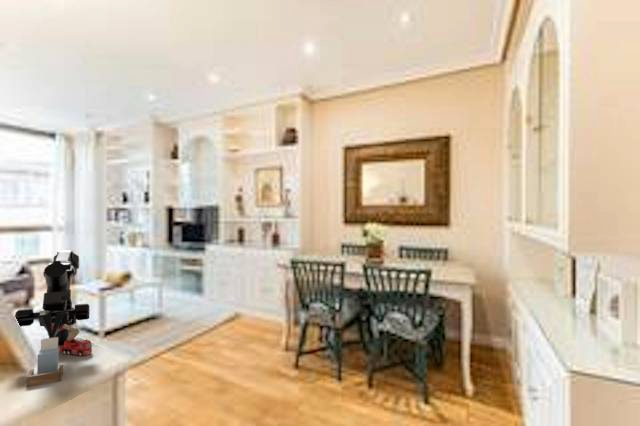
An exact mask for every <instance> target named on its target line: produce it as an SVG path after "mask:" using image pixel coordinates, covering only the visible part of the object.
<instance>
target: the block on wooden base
mask: <svg viewBox="0 0 640 426" xmlns="http://www.w3.org/2000/svg"><path fill="white" fill-rule="evenodd" d="M40 339H41V340H40V350H39V351H38V353H37V368H36V369H37V373H36V374H42V373H48V372H55V371H58V370H59V367H60V364H59V363H60V362H59V359H60V356H59V355H60V354H59V353H60V347H59V345H58V337H54V338H49V337H48V338H47V337H46V338H40Z"/></svg>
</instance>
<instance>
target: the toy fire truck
mask: <svg viewBox="0 0 640 426" xmlns="http://www.w3.org/2000/svg"><path fill="white" fill-rule="evenodd" d="M53 327H54V325H52V331H53ZM64 329H68V330H70V334H69V336H68V338H67V340H66V341H64V345H59V353H61V354H63V355H66V354H67V356H70V355H75V356H78V357H84V356H87V355H90V354H92V350H93V349H92V347H93V345H92V342H91V340H90V339H86V338H85V340H81V341H78V339H76V337H77V335H79V333H80V332H81V331H80V330H79V328H77V327H74V326H72V325H70V326H69V325H67V324H64V325H63V326H62V328H61V329H60V330H59V331H61V330H64Z"/></svg>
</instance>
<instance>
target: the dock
mask: <svg viewBox="0 0 640 426" xmlns="http://www.w3.org/2000/svg"><path fill="white" fill-rule="evenodd" d="M34 373H35V369H34V368H32V369H31V368H30V369H29V371H28V374H27V375H26V381H25V383H26V384H25V387H26V388H27V387H32V386H33V387H34V386H39V385H43V384H49V383H56V382H61V381H62V378H63V375H64V364H59V366H58V369H57V371H55V372H48V373H42V374H37V373H36V374H34Z"/></svg>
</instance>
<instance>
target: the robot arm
mask: <svg viewBox="0 0 640 426" xmlns="http://www.w3.org/2000/svg"><path fill="white" fill-rule="evenodd" d="M52 260H53V261H51V262H49V263H48V265H47V266H46V267H45V268H44V270H43V277H44V278H45V284H46V292H44V293H43V301H42V310H39V312H34V308H24V309H23V308H22V309H18V310H17V311H16V312H15V314H14V318H15V317H16V319H17V321H18V323H19V325H20V327H28V326H31V325H33V324H34V322H35V320H38V322H39V326H40V327H43V328H44V329H45V330H46V333H47V336H48V338H54V337H58V346H63V345H64V341H66V340H67V338H68V336H69V334H70V333H71V331H70V330H68V329H64V330H61V331H59V330H60V329H61V328H62V326H63V325H64V324H67V325H69V326H74V325H75V324H77V321H85V320H89V319H90V304H88V303H81V304H80V303H79V304H74V307H73V301H72V290H71V282H72V278H73V277H74V276H76V275H77V272H78V269H80V256H79V255H78V254H76V253H74V250H71V249H59V250H57V253H56V254H55V255H54V256H53V259H52ZM52 325H54V327H53V331H52Z"/></svg>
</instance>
